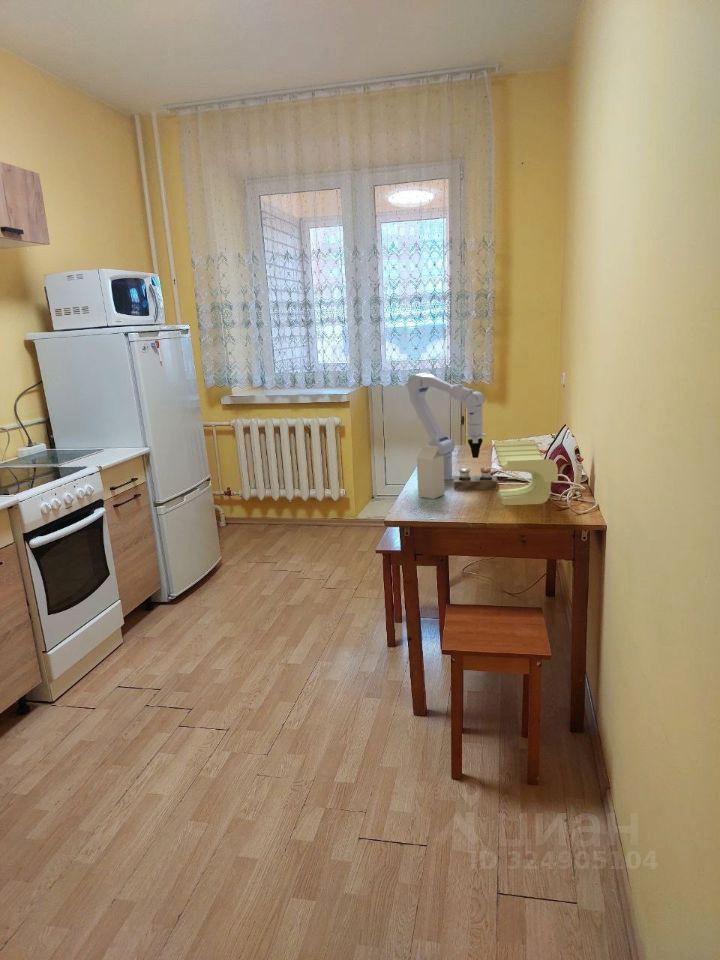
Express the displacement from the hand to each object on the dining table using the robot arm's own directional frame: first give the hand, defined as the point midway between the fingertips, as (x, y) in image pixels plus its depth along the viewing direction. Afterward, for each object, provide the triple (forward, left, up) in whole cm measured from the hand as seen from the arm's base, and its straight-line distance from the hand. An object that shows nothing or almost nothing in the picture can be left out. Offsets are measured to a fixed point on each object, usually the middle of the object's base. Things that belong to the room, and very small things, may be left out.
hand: (475, 457), depth 232 cm
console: (0, -7, -10) cm, 12 cm away
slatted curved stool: (+17, -23, -10) cm, 30 cm away
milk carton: (-16, -19, -10) cm, 27 cm away
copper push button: (+4, -7, -7) cm, 11 cm away
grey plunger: (-4, -7, -7) cm, 11 cm away
